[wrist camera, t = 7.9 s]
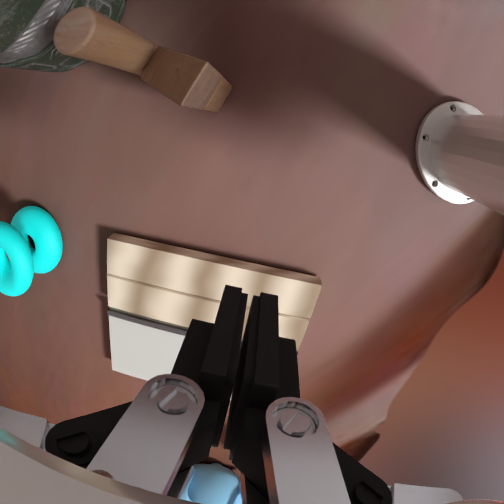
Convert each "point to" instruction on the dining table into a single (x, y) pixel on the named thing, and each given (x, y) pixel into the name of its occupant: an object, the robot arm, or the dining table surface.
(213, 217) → the dining table surface
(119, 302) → the plank
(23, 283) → the donuts
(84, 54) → the wooden block
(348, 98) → the dining table surface
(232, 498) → the decorative pot
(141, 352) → the board
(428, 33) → the dining table surface
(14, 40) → the canister
